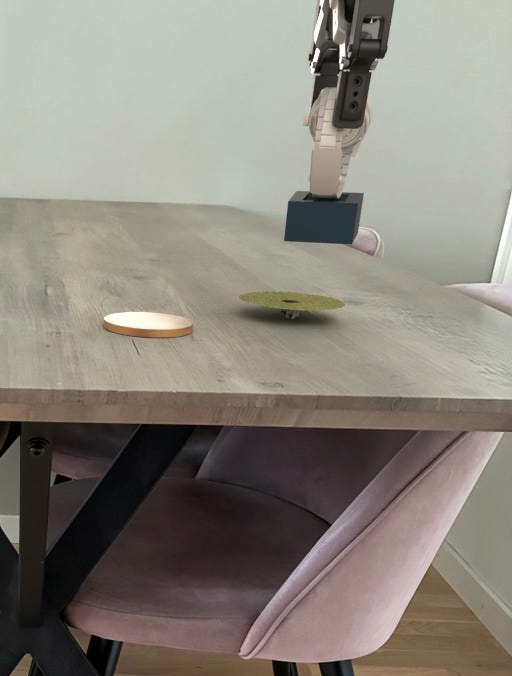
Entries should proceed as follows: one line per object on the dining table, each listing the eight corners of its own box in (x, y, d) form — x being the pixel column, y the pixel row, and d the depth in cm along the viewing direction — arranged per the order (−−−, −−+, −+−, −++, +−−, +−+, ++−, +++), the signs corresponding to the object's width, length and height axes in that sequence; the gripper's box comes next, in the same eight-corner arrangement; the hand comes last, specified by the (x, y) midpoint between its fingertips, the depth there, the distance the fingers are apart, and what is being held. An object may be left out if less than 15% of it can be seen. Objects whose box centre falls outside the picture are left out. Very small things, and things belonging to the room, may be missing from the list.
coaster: (187, 321, 100) (188, 313, 100) (197, 339, 92) (198, 331, 92) (102, 318, 100) (102, 310, 100) (104, 335, 92) (105, 327, 92)
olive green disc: (348, 331, 98) (351, 311, 97) (238, 324, 100) (240, 304, 99) (335, 312, 108) (338, 294, 107) (235, 305, 109) (237, 288, 108)
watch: (360, 227, 83) (382, 81, 76) (349, 249, 77) (372, 93, 70) (295, 224, 85) (311, 81, 78) (279, 246, 79) (295, 93, 72)
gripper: (461, -153, 62) (407, 131, 70) (395, -109, 74) (356, 127, 82) (345, -156, 62) (304, 128, 70) (299, -111, 74) (269, 125, 82)
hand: (332, 127), depth 76 cm, fingers closed on watch, 8 cm apart
